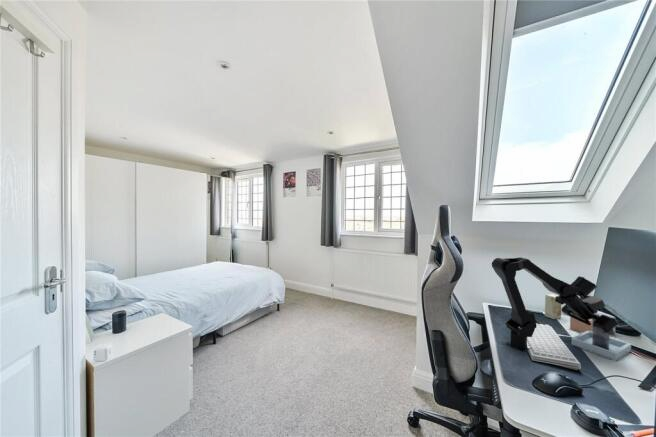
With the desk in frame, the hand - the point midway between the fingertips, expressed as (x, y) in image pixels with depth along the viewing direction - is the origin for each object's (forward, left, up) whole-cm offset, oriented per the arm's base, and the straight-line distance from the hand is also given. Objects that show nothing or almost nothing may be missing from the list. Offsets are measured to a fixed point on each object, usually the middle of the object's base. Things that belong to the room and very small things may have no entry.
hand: (601, 329), depth 103 cm
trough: (0, 0, -8) cm, 8 cm away
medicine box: (+22, +6, -8) cm, 24 cm away
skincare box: (+20, +24, -8) cm, 32 cm away
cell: (0, 0, -7) cm, 7 cm away
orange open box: (+14, +10, -8) cm, 19 cm away
